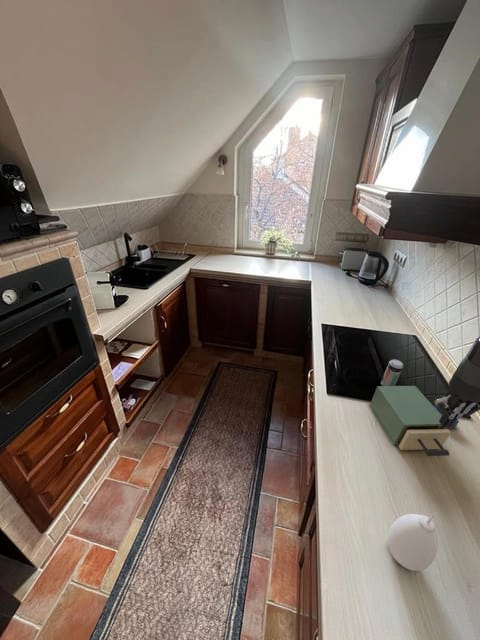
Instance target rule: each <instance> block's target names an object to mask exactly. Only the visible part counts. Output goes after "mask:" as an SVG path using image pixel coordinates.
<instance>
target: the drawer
mask: <svg viewBox="0 0 480 640" xmlns="http://www.w3.org/2000/svg"><path fill="white" fill-rule="evenodd" d="M440 428H441V426H413V427H406V428H405V430H404V432H403V434H402V435H401V437H400V439H399V441H401V443H400V445H398V448H399V450H400V451H412V450H413V451H416V450H424V455H425V456H427V457H446V456H450V451H449V450H448V449H445V448H444V447H443V445H445V443H446V441H447V440H448V438H449V437H450V435H451V434H452V431H450V428H446V429H440Z"/></svg>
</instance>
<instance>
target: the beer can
mask: <svg viewBox="0 0 480 640" xmlns="http://www.w3.org/2000/svg"><path fill="white" fill-rule="evenodd" d="M403 368H404V364H403V362H402V361H401V360H399V359H396V358H393V359H391V360H390V361H389V362H388V364H387V367H386V369H385V371H384V374H383V377H382V379H381V381H380V384H381V386H396V384H397V382H398V380H399V378H400V375H401V373H402V370H403Z"/></svg>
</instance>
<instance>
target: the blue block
mask: <svg viewBox="0 0 480 640" xmlns="http://www.w3.org/2000/svg"><path fill="white" fill-rule="evenodd" d="M433 406H434V408H435V409H436V410H437V408H436V406H435V405H433ZM437 411H438V410H437ZM438 412H439V411H438ZM449 412H450V410H449ZM439 413H440V412H439ZM440 414H441V413H440ZM441 415H442V414H441ZM459 422H460V421H459V419H457V420H456V422H455V423H454V425H453V426H452V427H451V428H450V429H455V428H457V425H458V424H459Z"/></svg>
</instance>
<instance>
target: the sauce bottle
mask: <svg viewBox="0 0 480 640" xmlns="http://www.w3.org/2000/svg"><path fill="white" fill-rule="evenodd" d="M433 519H434V515H431V516H430V517H429V516H427V515H424V514H418V513H417V514H416V513H409V514H403V515H401V516H400V517H398V518H397V519H395V520H394V522H393V523H392V524H391V526H390V528H389V530H388V534H387V545H388V549H389V552H390V554H391V556H392V557H393V558H394V560H395V561H396V562H397V563H398V564H399V565H400V566H402V567H404V568H405V569H407V570H409V571H414V572H420V571H424V570H426V569H427V568H429V567H430V566H431V565H432V563H433V562H434V561H435V559H436V556H437V553H438V547H439V540H438V534H437V530H436V525H435V523H434V521H433Z"/></svg>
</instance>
